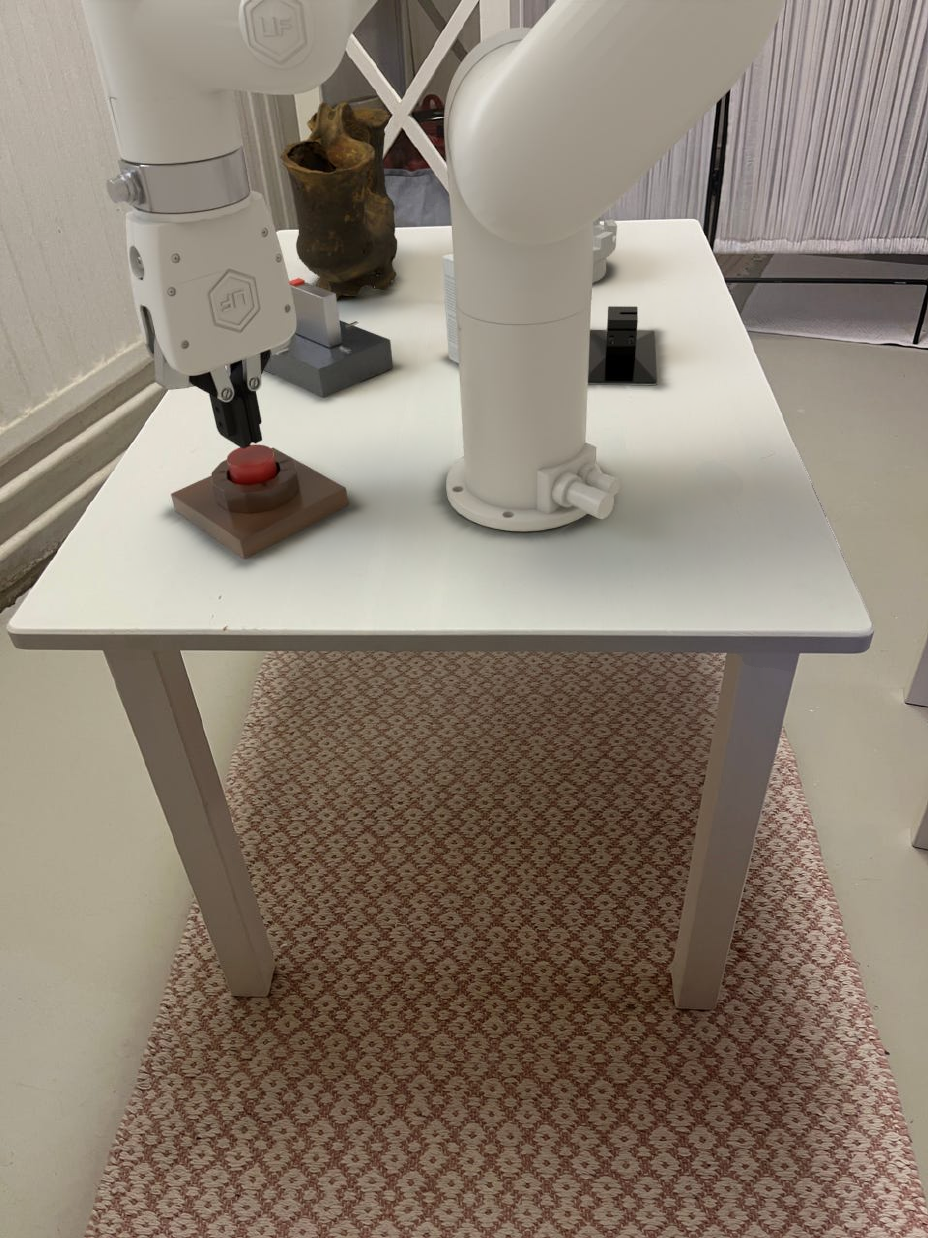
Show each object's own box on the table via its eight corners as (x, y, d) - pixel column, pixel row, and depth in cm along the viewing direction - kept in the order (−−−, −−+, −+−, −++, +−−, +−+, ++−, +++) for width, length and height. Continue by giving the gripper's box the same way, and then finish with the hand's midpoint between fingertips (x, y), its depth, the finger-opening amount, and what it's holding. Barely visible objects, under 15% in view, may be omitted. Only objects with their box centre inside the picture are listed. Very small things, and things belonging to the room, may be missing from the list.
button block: (348, 505, 74) (343, 467, 72) (244, 560, 69) (235, 520, 67) (276, 464, 80) (269, 427, 78) (175, 511, 75) (164, 474, 73)
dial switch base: (398, 365, 95) (395, 336, 93) (318, 400, 89) (313, 369, 87) (326, 336, 101) (321, 307, 99) (248, 366, 96) (242, 337, 94)
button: (286, 473, 73) (282, 454, 71) (248, 492, 71) (243, 472, 70) (260, 458, 75) (256, 439, 74) (222, 476, 73) (217, 456, 72)
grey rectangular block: (342, 343, 92) (335, 290, 89) (329, 348, 91) (322, 295, 88) (306, 327, 96) (298, 276, 92) (294, 332, 95) (285, 281, 91)
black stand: (656, 386, 88) (660, 339, 85) (579, 385, 89) (581, 338, 86) (654, 332, 98) (657, 289, 95) (584, 332, 99) (586, 289, 96)
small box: (507, 337, 99) (505, 235, 92) (541, 353, 95) (542, 248, 88) (446, 359, 95) (439, 254, 89) (479, 376, 92) (474, 269, 85)
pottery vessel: (329, 250, 124) (306, 81, 111) (409, 248, 123) (396, 77, 110) (291, 323, 105) (258, 129, 92) (386, 321, 104) (366, 124, 91)
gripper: (109, 220, 53) (182, 495, 65) (317, 166, 61) (349, 420, 72) (51, 197, 57) (129, 459, 69) (252, 149, 65) (292, 392, 77)
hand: (242, 438), depth 71 cm, fingers closed
